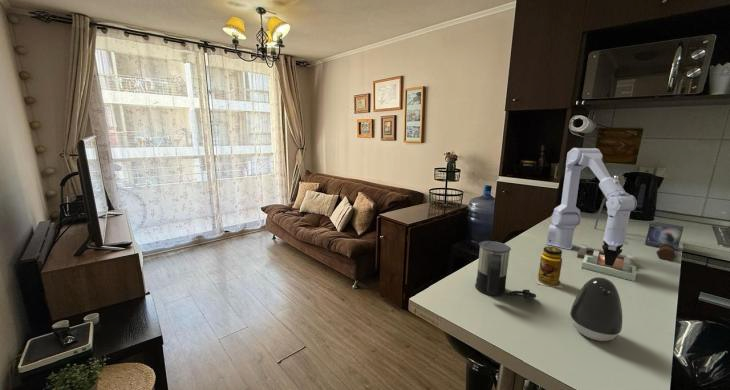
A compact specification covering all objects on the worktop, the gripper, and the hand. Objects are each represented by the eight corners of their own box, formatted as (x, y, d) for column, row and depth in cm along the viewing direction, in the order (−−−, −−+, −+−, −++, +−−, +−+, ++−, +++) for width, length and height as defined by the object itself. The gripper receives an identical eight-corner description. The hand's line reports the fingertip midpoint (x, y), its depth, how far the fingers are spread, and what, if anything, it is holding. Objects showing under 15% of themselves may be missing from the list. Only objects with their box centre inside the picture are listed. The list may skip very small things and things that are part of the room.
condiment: (537, 284, 99) (542, 250, 96) (533, 273, 107) (538, 242, 104) (563, 289, 96) (569, 254, 94) (557, 277, 104) (562, 245, 101)
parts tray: (581, 268, 111) (582, 262, 111) (584, 260, 118) (585, 255, 117) (634, 281, 102) (636, 275, 101) (634, 272, 108) (635, 266, 108)
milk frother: (471, 281, 100) (475, 239, 97) (518, 282, 100) (524, 241, 97) (486, 305, 87) (491, 258, 83) (541, 307, 86) (548, 259, 83)
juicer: (594, 228, 158) (604, 173, 152) (621, 232, 152) (633, 175, 146) (594, 233, 151) (605, 175, 144) (623, 238, 144) (636, 177, 138)
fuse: (590, 267, 111) (592, 255, 110) (591, 261, 115) (594, 250, 113) (627, 276, 105) (629, 263, 103) (627, 270, 108) (630, 258, 107)
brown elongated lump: (667, 255, 129) (666, 264, 119) (655, 247, 132) (653, 255, 122) (680, 246, 126) (680, 254, 116) (667, 237, 129) (665, 245, 119)
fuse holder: (577, 257, 121) (578, 249, 120) (580, 249, 129) (581, 242, 128) (632, 270, 110) (634, 261, 109) (632, 261, 118) (634, 252, 117)
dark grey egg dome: (574, 341, 72) (585, 284, 68) (563, 317, 81) (572, 266, 78) (626, 353, 68) (640, 293, 65) (608, 326, 78) (620, 273, 74)
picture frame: (644, 245, 136) (649, 223, 134) (646, 241, 140) (651, 220, 138) (677, 252, 128) (682, 229, 126) (678, 248, 132) (683, 226, 130)
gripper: (631, 235, 98) (622, 273, 101) (630, 225, 109) (623, 260, 112) (604, 230, 103) (597, 266, 106) (606, 221, 114) (599, 254, 117)
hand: (609, 263), depth 109 cm, fingers closed on fuse, 4 cm apart
